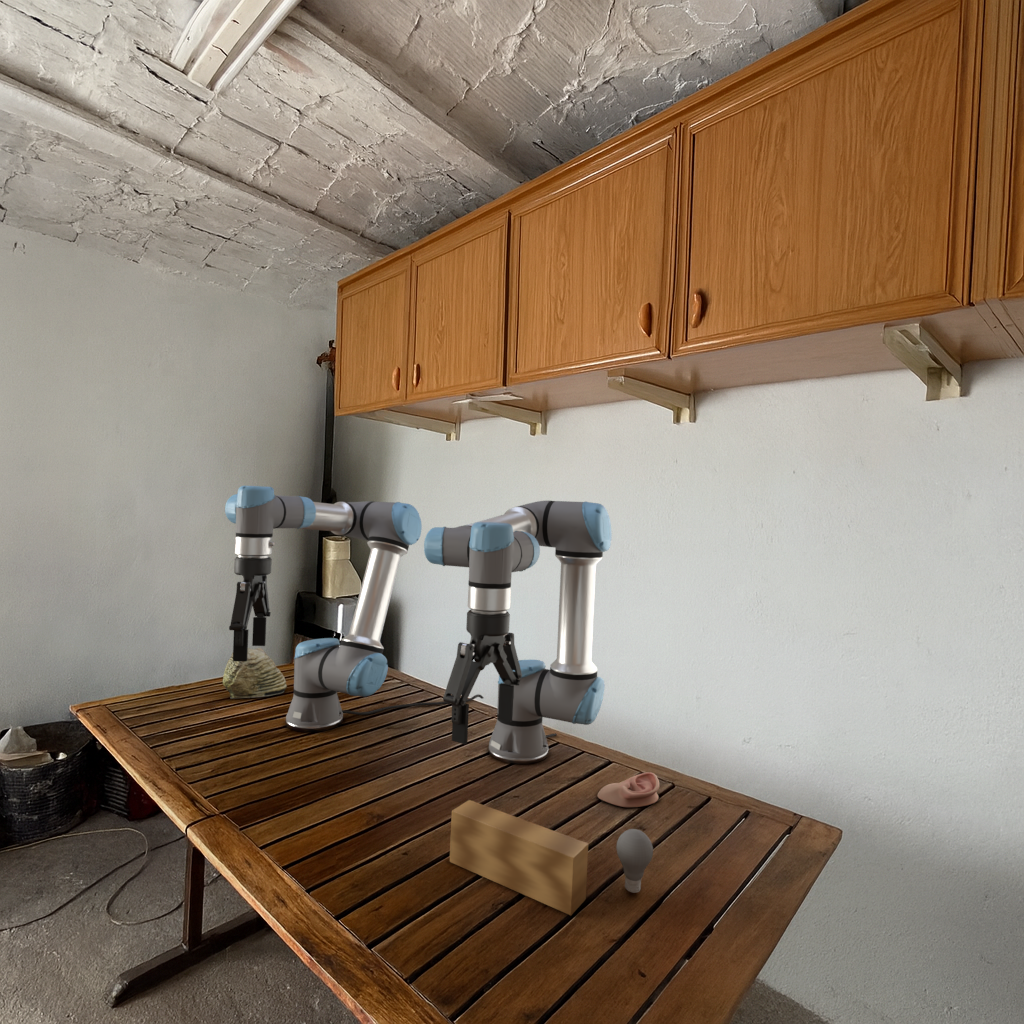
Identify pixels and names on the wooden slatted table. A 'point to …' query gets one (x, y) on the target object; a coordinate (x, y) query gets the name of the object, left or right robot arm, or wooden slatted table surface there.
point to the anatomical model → (632, 791)
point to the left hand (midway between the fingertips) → (249, 653)
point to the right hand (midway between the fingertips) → (483, 730)
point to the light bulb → (634, 857)
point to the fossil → (253, 676)
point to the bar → (520, 855)
